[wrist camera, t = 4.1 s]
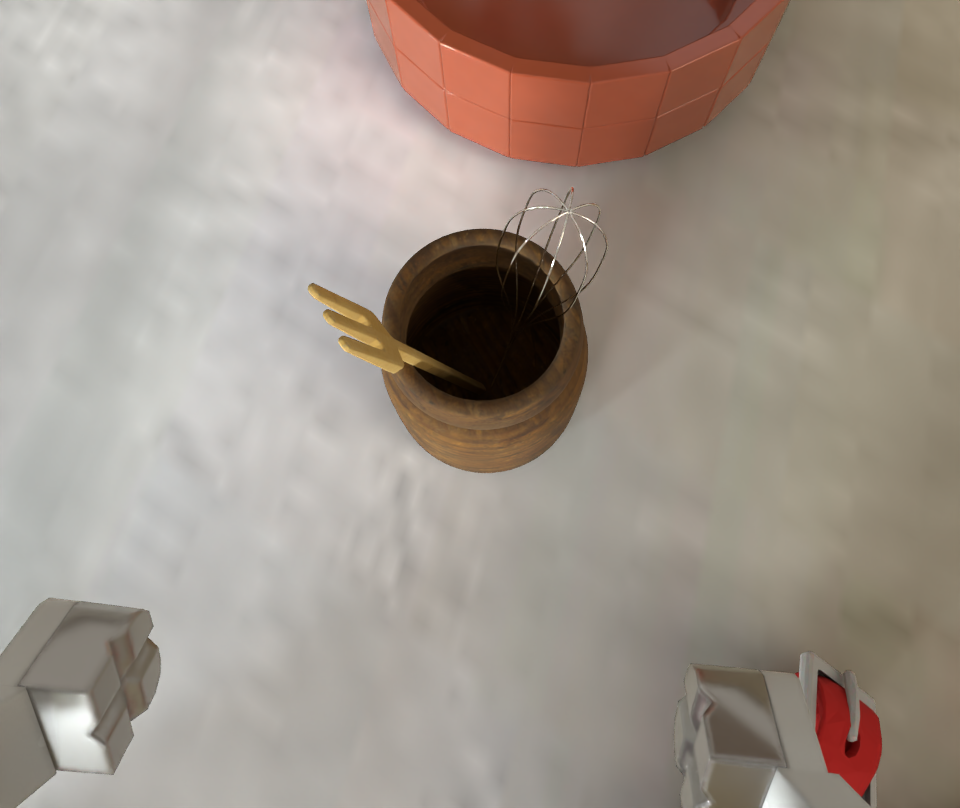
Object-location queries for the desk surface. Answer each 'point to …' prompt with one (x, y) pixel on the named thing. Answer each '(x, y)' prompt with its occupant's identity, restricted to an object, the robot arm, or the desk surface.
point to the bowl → (574, 69)
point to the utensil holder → (478, 344)
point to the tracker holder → (843, 723)
